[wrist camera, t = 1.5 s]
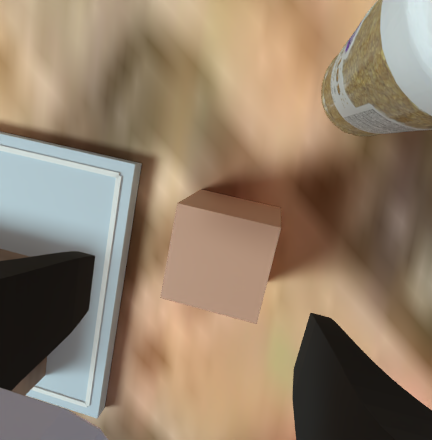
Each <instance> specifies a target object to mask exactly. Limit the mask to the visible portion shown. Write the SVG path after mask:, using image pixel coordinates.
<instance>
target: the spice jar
mask: <svg viewBox="0 0 432 440" xmlns="http://www.w3.org/2000/svg"><path fill="white" fill-rule="evenodd" d="M321 93H322V96H321V98H322V104H323V107H324V110H325V112H326V114H327V116H328V117H329V119H330V120H331V121H332V123H333V124H334V125H336V126H337V127H338V128H340V129H341V130H342V131H344V132H345V133H349V134H353V135H356V136H373V135H378V134H386V133H397V132H407V131H418V130H431V129H432V0H378V1H377V2H376V3H375V4H374V5H373V7H372V8H371V9H370V10H369V11H368V13H367V14H366V16H365V17H364V19H363V20H362V22H361V23H360V25H359V26H358V28H357V29H356V31H355V32H354V33H353V35H352V36H351V38H350V39H349V40H348V41H347V43H346V44H345V46H344V47H343V49H342V50H341V52H340V53H339V54H338V55H337V56H336V57H335V58H334V60H333V61H332V63H331V64H330V66H329V67H328V69H327V70H326V73H325V76H324V79H323V83H322V90H321Z"/></svg>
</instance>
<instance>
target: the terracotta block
mask: <svg viewBox="0 0 432 440" xmlns="http://www.w3.org/2000/svg"><path fill="white" fill-rule="evenodd" d="M280 230H281V208H280V207H276V206H271V205H267V204H262V203H258V202H254V201H249V200H245V199H241V198H236V197H232V196H228V195H223V194H219V193H215V192H210V191H206V190H202V189H201V190H199V191H198V192H196V193H194V194H192V195H191V196H189V197H187V198H186V199H184V200H182V201H180V202H179V203H177V208H176V214H175V219H174V225H173V231H172V236H171V242H170V247H169V253H168V258H167V264H166V270H165V275H164V281H163V286H162V292H161V297H160V298H163V299H167V300H170V301H174V302H178V303H181V304H185V305H189V306H192V307H196V308H200V309H203V310H207V311H211V312H214V313H218V314H222V315H225V316H229V317H233V318H236V319H240V320H244V321H247V322H251V323H255V324H257V321H258V317H259V313H260V309H261V305H262V301H263V297H264V293H265V289H266V285H267V282H268V278H269V274H270V270H271V266H272V262H273V258H274V254H275V250H276V246H277V242H278V238H279V234H280Z"/></svg>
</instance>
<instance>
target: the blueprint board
mask: <svg viewBox="0 0 432 440" xmlns="http://www.w3.org/2000/svg"><path fill="white" fill-rule="evenodd" d="M141 165H142V163H138V162H133V161H129V160H124V159H120V158H116V157H111V156H107V155H102V154H98V153H94V152H89V151H85V150H80V149H76V148H71V147H67V146H63V145H58V144H54V143H49V142H45V141H41V140H36V139H32V138H27V137H23V136H19V135H14V134H10V133H5V132H1V131H0V249H4V250H7V251H11V252H15V253H18V254H22V255H26V256H30V257H32V256H39V255H45V254H52V253H59V252H69V251H79V252H83V253H87V254H91V255H94V256H95V262H94V271H93V279H92V288H91V296H90V304H89V311H88V312H87V313H86V315H85V316H84V317H83V319H82V320H81V321H80V323H79V324H78V325H77V326H76V328H75V329H74V330H73V331H72V333H71V334H70V335H69V336H68V337H67V338H66V339H65V340H63V341H62V342H61V343H60V344H59V345H58V346H57V347H56V348H55V349H54V350H53V351H52V352H51V353H50V354H49V355H48V356H47V363H46V373H45V376H44V377H43V378H42V379H41V380H40V381H39V382H38V383H37V384H36V385H35V386H34V387H33V388H32V389H31V390H30V391H29V392H28V393H27V394H26V395H27V396H30V397H33V398H36V399H39V400H42V401H45V402H48V403H51V404H55V405H58V406H61V407H64V408H67V409H70V410H73V411H76V412H79V413H82V414H85V415H88V416H91V417H95V418H98V417H99V415H100V414H101V412H102V411H103V409H104V408H105V402H106V395H107V389H108V382H109V376H110V369H111V362H112V356H113V349H114V343H115V336H116V330H117V323H118V316H119V310H120V303H121V297H122V290H123V284H124V277H125V270H126V264H127V257H128V251H129V244H130V238H131V231H132V224H133V218H134V211H135V205H136V198H137V191H138V185H139V178H140V172H141Z"/></svg>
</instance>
